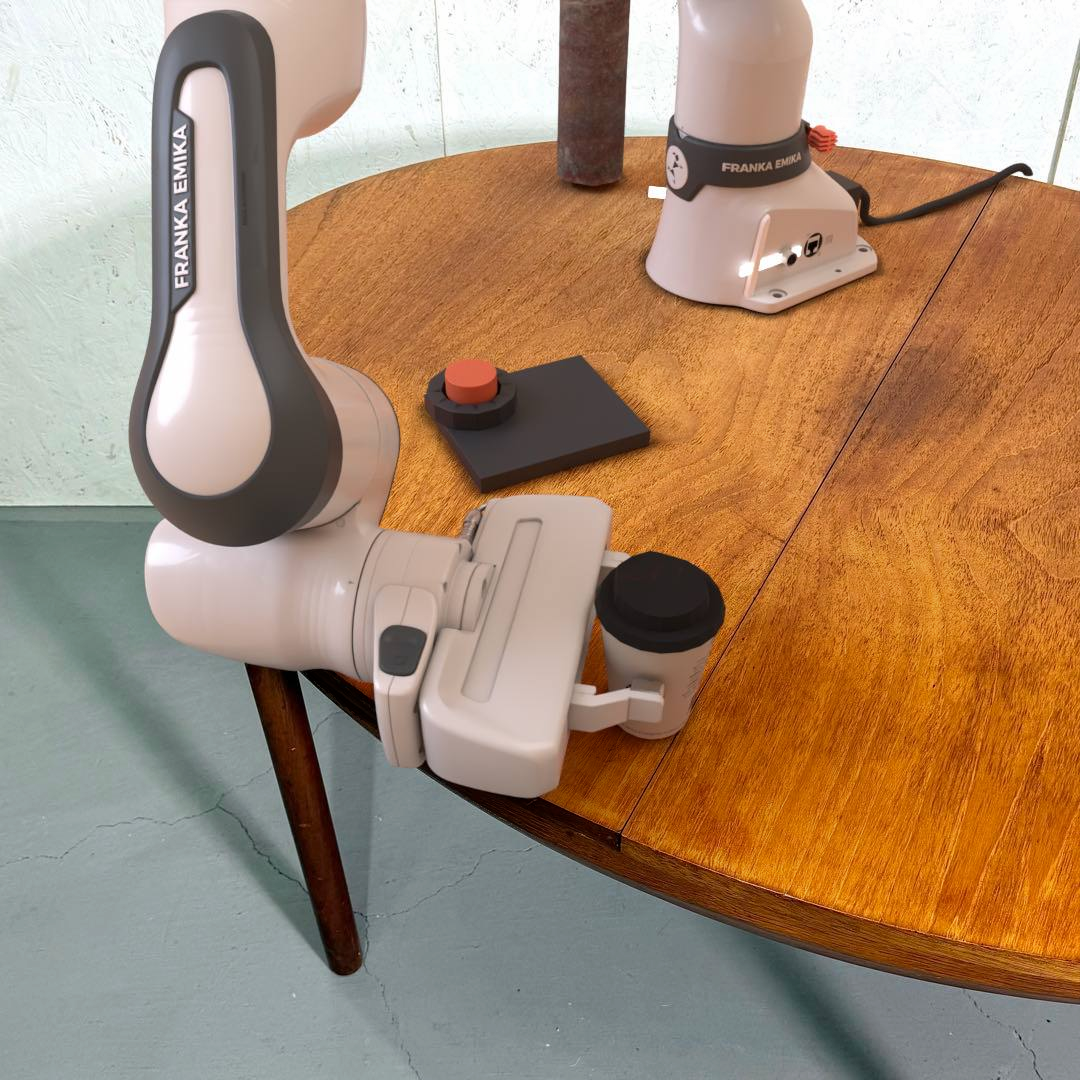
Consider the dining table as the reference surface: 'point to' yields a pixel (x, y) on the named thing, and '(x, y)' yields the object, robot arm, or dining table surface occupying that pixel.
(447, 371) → the red button cap
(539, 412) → the dark grey button base
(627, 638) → the coffee cup
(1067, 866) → the dining table surface
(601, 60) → the candle
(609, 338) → the dining table surface
